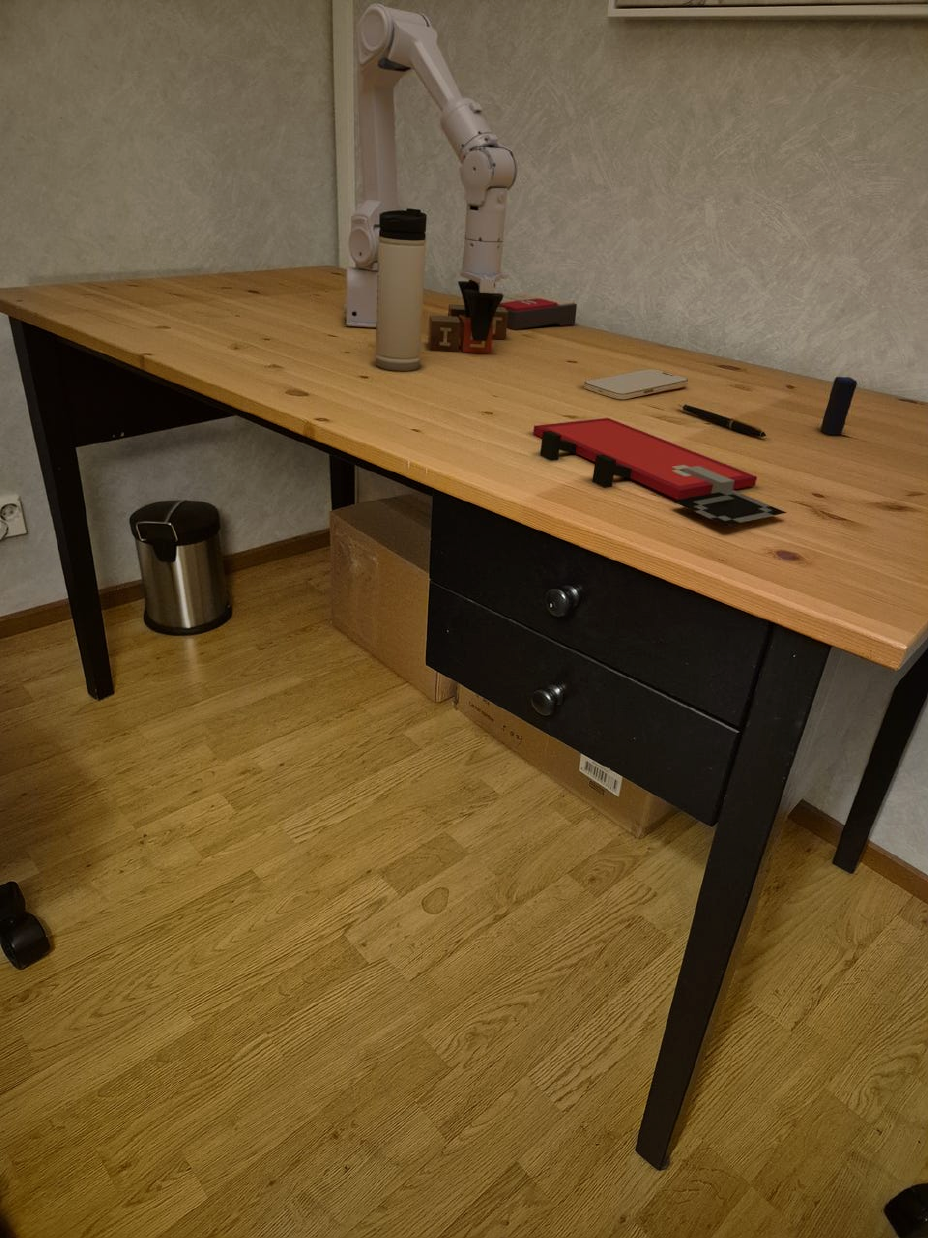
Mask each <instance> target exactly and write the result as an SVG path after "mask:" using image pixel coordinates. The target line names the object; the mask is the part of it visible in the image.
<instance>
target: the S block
mask: <svg viewBox="0 0 928 1238" xmlns="http://www.w3.org/2000/svg"><path fill="white" fill-rule="evenodd" d="M492 334H493V323H492V324H491V328H490V332H489V335H488V338H487V341H474V340H473V338H472V333H471V318H469V317H462V320H461V334H460V339H459V348H460V349H461V352H462V353H468V354H487V355H488V354H489V355H490V354H492V344H493V339H492Z"/></svg>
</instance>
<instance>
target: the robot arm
mask: <svg viewBox="0 0 928 1238" xmlns="http://www.w3.org/2000/svg"><path fill="white" fill-rule="evenodd" d="M355 27H356V28H355V30H356V47H357V48H356V49H357V67H356V87H357V107H358V108H357V109H358V125H359V142H360V144H359V145H360V159H361V163H360V164H361V182H362V199H363V202H362V204H361V205H360V206H359V207H358V208H357V209H355V211H354V213H352V215H351V216H350V231H349V234H348V235H349V236H348V243H347V244H348V251H349V255H350V257H351V259H352V261H354V263H355V266H347V267H346V301H345V302H344V315H346V326H347V327H360V328H376V316H377V275H378V242H379V239H378V236H379V230H380V228H379V223H378V224H377V222H379V215H380V213H382V212H386V211H395V210H405V209H404V208H403V207H402V206H401V205H400V203H399V197H398V176H397V175H398V174H397V171H398V170H397V149H396V147H397V145H396V144H397V143H396V123H395V95H394V89H395V87H396V86H397V84H398V83H399V82H400V80H402V79H404V78H405V77H406V76H407V75H409V74H410V73H411V72H412V71H414V72H415V73H416V76H417V77H418V78H419V80H420V81H421V83H422V84H423V86H424V88H425V89H426V90H427V92H428V94H429V95H430V96H431V98H432V99H433V101H434V103H435V104H436V105H437V107H438V108H439V110H440V112H441V114H440V115H441V116H440V121H439V125H440V129H441V130H442V132H443V133H444V135H445V137H446V139H447V140H448V142H449V144H450V147H452V149H453V151H454V153H455V155H456V157H457V159H458V160H459V162H460V164H461V165H462V166H459V177H460V181H461V183H462V185H463V188H464V197H463V199H464V200H465V204H466V210H465V225H464V238H463V239H464V240H463V255H462V269H461V270H460V276H461V277H462V278H465V279H466V281H465V280H460V281H458V282H457V283H458V287H459V289H460V293H461V296H462V301H463V305H464V308H465V317H469V318H471V333H472V338H473V340H474V341H487V338H488V335H489V332H490V328H491V324H492V321H493V317H494V315H495V312H496V310H497V308H498V306H499V304H500V302H501V301H502V299H503V296H504V294H503V293H500V292H494V290H495V288H496V283H497V282H499V281H501V280H502V279H504V280H505V279H506V280H508V279H509V273H508V272H505V271H501V270H502V257H503V248H504V237H505V224H506V214H507V213H506V212H507V202H508V201H507V200H508V191H509V190H511V188H512V187H513V186H514V185H515V183H516V181H517V178H518V173H519V172H518V161H517V159H516V157H515V152H514V151H513V150H512V149H511V148H509V147H507V146H503V145H501V143H500V142H499V139H498V137H497V136H496V134H495V133H493V132H492V130H491V128H490V126H489V125H488V123H487V121H486V119H485V118H484V116H483V115H482V112H483V108H482V106H481V104H480V103H479V102H475V100H474V99H471V98H468V97H463V96H462V94H461V92H460V90H459V87H458V85H457V83H456V81H455V79H454V77H453V75H452V73H451V70H450V69H449V66H448V65H447V62H446V61H445V58H444V56H443V54H442V52H441V50H440V48H439V46H438V41H439V40H438V39H439V34H438V32H437V31H436V29H435V28H434V27H433V26H432V22H431V20H430V19H429V17H428V16H427V15H426V14H424V13H423V12H422V13H421V12H411V11H407V10H403V9H402V10H401V9H397V8H393V7H387V6H385V5H383V4H380V3H373V4H370V5H369V6H368V7H367V8H366V9H365V10H364V12H363V14H362V15H361V18H360V19H359V21H358V22H357V24H356V25H355ZM467 280H468V281H467Z"/></svg>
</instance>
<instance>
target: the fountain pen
mask: <svg viewBox="0 0 928 1238" xmlns="http://www.w3.org/2000/svg"><path fill="white" fill-rule="evenodd" d="M676 405H677V406H678V407H680V408H681V409H682V411H685V412H687V413H689V414H692V415H694V416H697V417H700V418H702V419H705V420H707V421H709V422H712V423H716V424H717V425H721V426H724V427H727V428H728V429H730V430H733V431H736V432H739V433H742V434H746V435H748V436H753V437H758V438H763V437H767V434H766V432H765V431H763V429H762V428H761V427H759V426H757V425H755V424H752V423H750V422H747V421H744V420H741V419H739V418H736V417H735V418H732V417H731V418H730V417H727V416H724V415H721V414H719V413H716V412H712V411H709V410H706V409H702V408H698V407H696V406H691V405H688V404H686V403H685V404H679V403H676Z"/></svg>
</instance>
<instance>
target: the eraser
mask: <svg viewBox="0 0 928 1238" xmlns="http://www.w3.org/2000/svg"><path fill="white" fill-rule="evenodd" d="M857 385H858V381H857V380H855V379H854V378H852V377H849V376H835V378H834V381H833V384H832V387H831V390H830V393H829V398H828V402H827V405H826V408H825V410H824V414H823V417H822V421H821V427H820V431H821V433H823V434H825V435H827V436H835V437H839V436H841V434H842V432H843V430H844V427H845V423H846V420H847V416H848V414H849V410H850V407H851V405H852V400H853V397H854V394H855V391H856V388H857Z"/></svg>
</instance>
